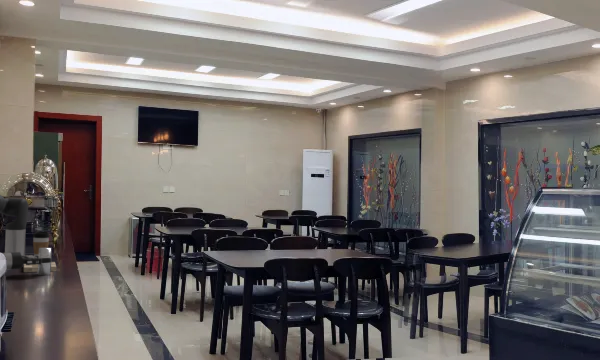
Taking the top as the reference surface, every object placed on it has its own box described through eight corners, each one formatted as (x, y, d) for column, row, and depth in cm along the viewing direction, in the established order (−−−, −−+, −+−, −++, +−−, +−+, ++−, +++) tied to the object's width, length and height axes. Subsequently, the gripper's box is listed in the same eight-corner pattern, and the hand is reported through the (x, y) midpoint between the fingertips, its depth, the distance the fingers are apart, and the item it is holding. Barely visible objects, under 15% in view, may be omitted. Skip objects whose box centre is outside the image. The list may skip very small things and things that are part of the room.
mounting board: (23, 266, 284) (24, 262, 284) (54, 266, 290) (54, 262, 290) (23, 272, 267) (23, 267, 267) (56, 271, 273) (56, 267, 273)
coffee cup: (51, 259, 312) (52, 232, 313) (43, 261, 304) (44, 233, 304) (37, 259, 313) (38, 231, 313) (28, 260, 305) (29, 232, 305)
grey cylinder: (39, 275, 259) (40, 248, 259) (36, 274, 263) (37, 247, 263) (52, 274, 263) (53, 248, 263) (48, 273, 267) (50, 247, 267)
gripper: (13, 254, 248) (52, 252, 258) (5, 250, 259) (43, 249, 269) (13, 271, 248) (52, 269, 258) (4, 267, 259) (42, 265, 269)
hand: (47, 259), depth 264 cm, fingers open, 8 cm apart
